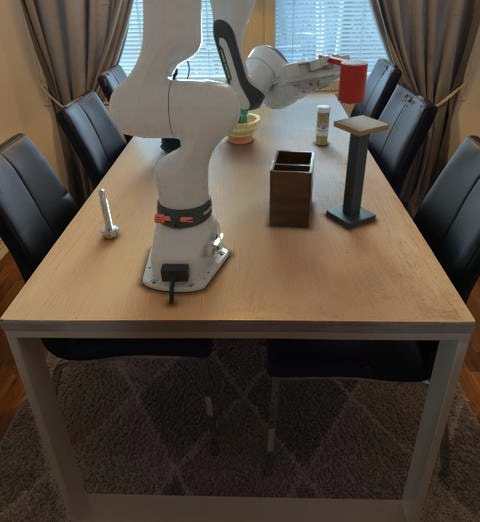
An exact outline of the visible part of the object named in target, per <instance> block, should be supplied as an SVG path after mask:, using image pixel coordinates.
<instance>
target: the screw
mask: <svg viewBox="0 0 480 522" xmlns="http://www.w3.org/2000/svg"><path fill="white" fill-rule="evenodd" d="M105 192H106V191H105V189H103V188H100V189H99V190H98V196H99V205H100V209H101V214H102V218H103V224H104V225H102V226H100V228H99V230H98V231H99V234H101V235H104V236H105V239H113V238H115V237H117V234H116V233H118V232H119V231H120V226H119V225H118V224H116V223H113V221H112V216H111V211H110V206H109V203H108V199H107V198H106V193H105Z"/></svg>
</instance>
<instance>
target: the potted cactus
mask: <svg viewBox="0 0 480 522" xmlns="http://www.w3.org/2000/svg"><path fill="white" fill-rule="evenodd" d="M261 120H262V119H261V117H260V115H259V114H255V113H250V112H249V111H244V110H241V109H240V117H239V121H238V123H237V125H236V127H235V128H234V130H233V131H232V132H231V133H230V134H229V135H227V136H226V137H227V138H228V142H229V143H231V144H233V145H235V144H236V145H246V144H249V143H251V142H253V136H254V135H255V134H256V132H257V129H258V127H259V125H260V124H261Z"/></svg>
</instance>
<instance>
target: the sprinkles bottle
mask: <svg viewBox="0 0 480 522" xmlns="http://www.w3.org/2000/svg"><path fill="white" fill-rule="evenodd" d="M330 114H331V106H330V105H329V104H319V105H317V106H316V123H315V124H316V125H315V141H314V143H315V145H317V146H326V145H328V138H329V128H330Z"/></svg>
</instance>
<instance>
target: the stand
mask: <svg viewBox="0 0 480 522" xmlns="http://www.w3.org/2000/svg"><path fill="white" fill-rule="evenodd" d="M333 127H334V128H337V129H339V130H340V131H341V130H342V131H344V132H346V133H349V142H348V152H347V161H346V169H345V170H346V172H345V182H344V191H343V201H342V205H338V206H335V207H332V208H328V209H326V210H325V216H327V217H329V218H330V219H331V220H333V221H335V222H336V223H338V224H340V226H343V227H344V228H346V229H348V230H350V229H353V228H356V227H359V226H362V225H365V224H368V223H370V222H374V221H376V218H377V214H375V213H374V212H371V211H370V210H368V209H366V208H364V207H363V206H362V199H363V191H364V182H365V176H366V175H365V174H366V167H367V158H368V152H369V151H368V150H369V142H370V136H371V134H376V133H379V132H384V131H388V130H389V129H390V124H389V123H387V122H384V121H381V120H378V119H375V118H372V117H370V116H367V115H364V114H361V115H356V116H352V117H348V118H347V117H346V118H342V119H338V120H334V121H333Z"/></svg>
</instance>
